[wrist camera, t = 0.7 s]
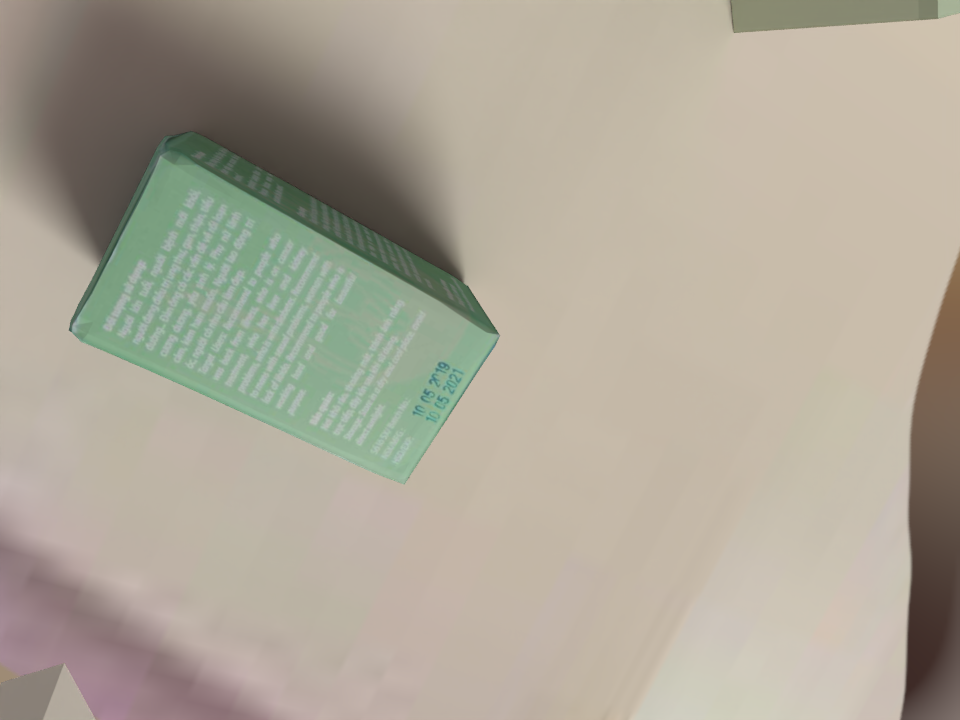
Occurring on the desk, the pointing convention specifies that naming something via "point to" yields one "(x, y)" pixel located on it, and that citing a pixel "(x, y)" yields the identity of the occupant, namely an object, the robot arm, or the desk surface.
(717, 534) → the desk surface
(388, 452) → the box
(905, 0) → the box
